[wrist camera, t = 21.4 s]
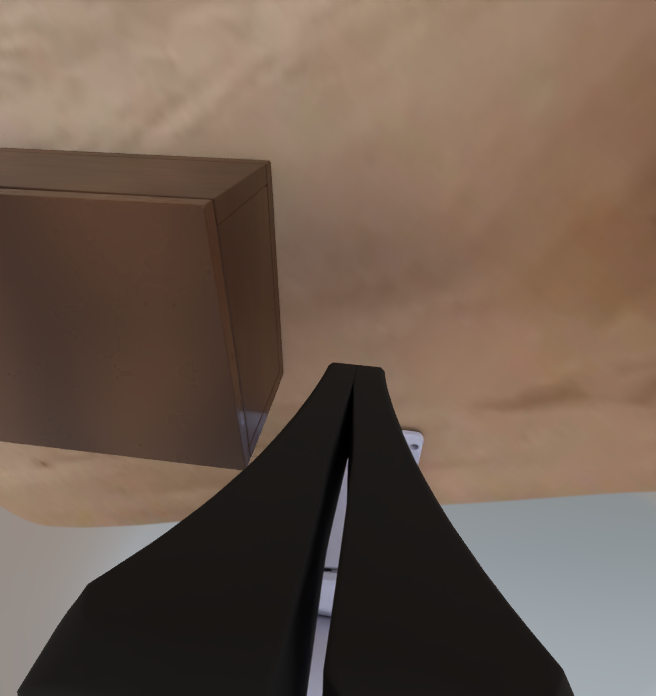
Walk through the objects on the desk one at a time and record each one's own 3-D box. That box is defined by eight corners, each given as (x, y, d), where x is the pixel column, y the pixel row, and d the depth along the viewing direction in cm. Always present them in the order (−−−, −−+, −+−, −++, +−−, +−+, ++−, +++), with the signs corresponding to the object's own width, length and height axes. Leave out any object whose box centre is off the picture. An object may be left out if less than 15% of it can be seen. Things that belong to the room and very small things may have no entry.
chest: (59, 349, 25) (-29, 420, 20) (-35, 145, 18) (-203, 173, 13) (283, 373, 23) (251, 457, 18) (271, 160, 17) (214, 198, 12)
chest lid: (-50, 423, 20) (-63, 434, 19) (-237, 175, 13) (-266, 180, 12) (250, 458, 18) (246, 471, 18) (213, 199, 12) (203, 205, 11)
